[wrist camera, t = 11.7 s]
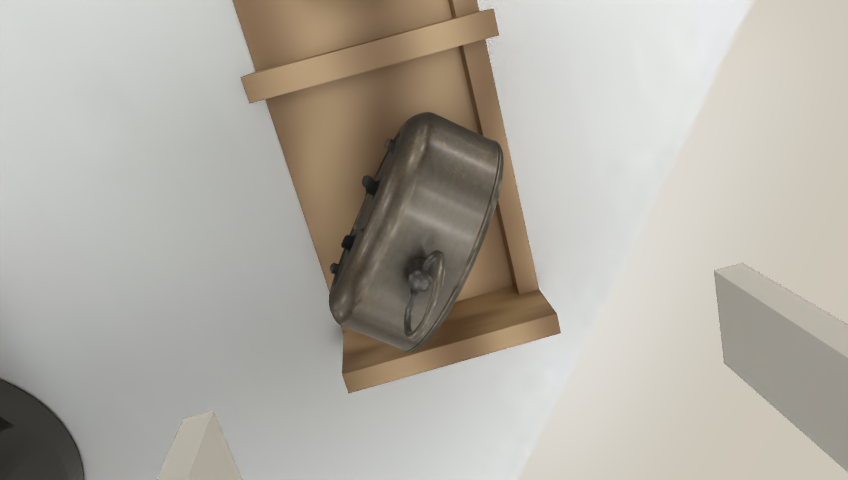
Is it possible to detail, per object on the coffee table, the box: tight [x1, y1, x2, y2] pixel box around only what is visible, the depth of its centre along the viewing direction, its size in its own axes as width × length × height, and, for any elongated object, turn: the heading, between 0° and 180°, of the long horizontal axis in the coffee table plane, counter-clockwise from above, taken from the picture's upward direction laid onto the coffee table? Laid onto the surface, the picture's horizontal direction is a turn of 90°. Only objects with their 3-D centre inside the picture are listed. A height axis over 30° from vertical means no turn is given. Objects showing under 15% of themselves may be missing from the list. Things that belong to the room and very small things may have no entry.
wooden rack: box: [233, 0, 561, 393], centre depth 32 cm, size 12×33×6 cm, turn 15°
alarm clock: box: [329, 112, 504, 352], centre depth 29 cm, size 11×5×16 cm, turn 155°
